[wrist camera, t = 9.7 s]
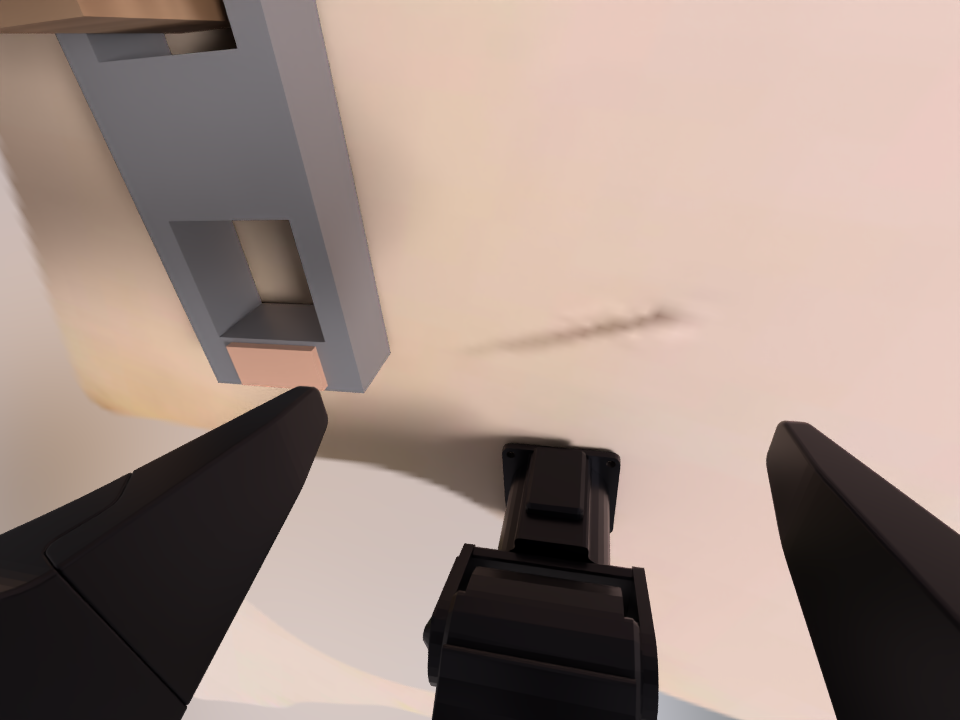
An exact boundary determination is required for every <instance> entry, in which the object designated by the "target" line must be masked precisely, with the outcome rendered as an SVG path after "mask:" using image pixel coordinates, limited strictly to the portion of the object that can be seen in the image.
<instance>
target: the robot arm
mask: <svg viewBox="0 0 960 720" xmlns="http://www.w3.org/2000/svg"><path fill="white" fill-rule="evenodd" d="M327 424H328V416H327V413H326V410H325V407H324V404H323V400H322V397H321V394H320V392H319V390H318V389H317V388H315V387H309V386H297V387H295V388H293V389H291V390H289V391H287V392H285V393H283V394H281V395H279V396H277V397H275V398H274V399H272V400H270V401H268V402H266V403H264V404H262V405H260V406H258V407H256V408H254V409H252V410H250V411H248V412H246V413H244V414H243V415H241V416H239V417H237V418H235V419H233V420H231V421H229V422H227V423H225V424H223V425H221V426H219V427H217V428H215V429H213V430H212V431H210V432H208V433H206V434H204V435H202V436H200V437H198V438H196V439H194V440H192V441H190V442H188V443H186V444H184V445H182V446H181V447H179V448H177V449H175V450H173V451H171V452H169V453H167V454H165V455H163V456H161V457H159V458H158V459H156V460H153V461H151V462H150V463H148V464H146V465H144V466H142V467H140V468H138V469H136V470H134V471H133V473H128V474H126V475H124V476H122V477H120V478H119V479H116V480H115V481H113V482H111V483H109V484H107V485H105V486H103V487H101V488H99V489H97V490H95V491H93V492H91V493H89V494H87V495H85V496H83V497H81V498H79V499H77V500H74V501H72V502H70V503H68V504H66V505H64V506H62V507H60V508H58V509H56V510H53V511H51V512H49V513H47V514H45V515H42V516H40V517H38V518H36V519H34V520H32V521H30V522H27V523H25V524H23V525H21V526H18V527H16V528H14V529H12V530H10V531H7V532H5V533H4V534H1V535H0V720H181V719H182V717H183V715H184V713H185V711H186V709H187V706H186V705H188V704H189V703H190V701H191V699H192V697H193V695H194V693H195V691H196V689H197V688H198V686H199V684H200V682H201V680H202V678H203V676H204V674H205V672H206V670H207V669H208V667H209V665H210V663H211V661H212V659H213V657H214V655H215V653H216V651H217V650H218V648H219V646H220V644H221V642H222V640H223V638H224V636H225V634H226V632H227V631H228V629H229V627H230V625H231V623H232V621H233V619H234V617H235V615H236V613H237V612H238V610H239V608H240V606H241V604H242V602H243V600H244V598H245V596H246V594H247V592H248V591H249V589H250V587H251V585H252V583H253V581H254V579H255V577H256V575H257V573H258V572H259V570H260V568H261V566H262V564H263V562H264V560H265V558H266V556H267V554H268V553H269V550H270V548H271V547H272V545H273V543H274V541H275V539H276V537H277V535H278V534H279V532H280V530H281V528H282V526H283V524H284V522H285V520H286V518H287V516H288V515H289V512H290V511H291V509H292V507H293V505H294V503H295V501H296V499H297V497H298V495H299V493H300V491H301V489H302V487H303V485H304V483H305V480H306V478H307V476H308V473H309V470H310V468H311V466H312V463H313V461H314V458H315V456H316V453H317V451H318V448H319V446H320V443H321V441H322V438H323V436H324V433H325V431H326V428H327ZM509 451H511V452H514V453H510V452H509ZM502 459H503V473H504V488H505V502H506V511H505V516H504V521H503V526H502V531H501V536H500V541H499V546H498V550H496V549H488V548H481V547H475V545H473V544H466V543H465V544H464V546H463V548H462V550H461V553H460V555H459V557H456V560H455V562H454V564H453V567H452V569H451V572H450V574H449V576H448V579H447V581H446V583H445V586H444V588H443V591H442V593H441V595H440V597H439V600H438V602H437V604H436V607H435V609H434V612H433V614H432V617H431V618H430V620H429V621H428V623H427V624H426V626H425V629H424V633H423V641H424V643H425V644H426V646H427V648H428V678H429V683H430V685H431V686H436V693H435V701H434V708H433V715H432V720H657V713H658V688H659V684H658V657H657V646H656V638H655V632H654V625H653V619H652V613H651V607H650V601H649V595H648V589H647V583H646V576H645V570H644V568H639V567H632V568H625V567H618V566H611V565H610V533H611V532H612V530H613V524H614V515H615V507H616V499H617V490H618V482H619V474H620V457H619V455H617V454H616V453H612V452H602V451H591V450H580V449H569V448H558V447H547V446H536V445H525V444H514V443H508V444H506V445H505V446H504V448H503V452H502ZM608 461H614V462H608ZM766 466H767V472H768V477H769V483H770V488H771V493H772V498H773V504H774V509H775V514H776V520H777V525H778V530H779V535H780V540H781V545H782V548H783V552H784V555H785V559H786V562H787V565H788V568H789V571H790V574H791V577H792V580H793V584H794V587H795V590H796V593H797V596H798V599H799V602H800V605H801V609H802V612H803V615H804V618H805V621H806V624H807V627H808V630H809V634H810V637H811V640H812V643H813V646H814V649H815V652H816V655H817V658H818V662H819V665H820V668H821V671H822V674H823V677H824V680H825V683H826V687H827V690H828V693H829V696H830V699H831V702H832V705H833V708H834V712H835V715H836V718H837V720H960V534H958V533H957V532H956V531H954V530H953V529H951V528H950V527H949V526H947V525H946V524H945V523H943V522H942V521H941V520H939V519H938V518H937V517H935V516H934V515H932V514H931V513H930V512H928V511H927V510H926V509H924V508H923V507H922V506H920V505H919V504H918V503H916V502H915V501H913V500H912V499H911V498H909V497H908V496H907V495H905V494H904V493H903V492H901V491H900V490H899V489H897V488H896V487H895V486H893V485H892V484H890V483H889V482H888V481H886V480H885V479H884V478H882V477H881V476H880V475H878V474H877V473H876V472H874V471H873V470H871V469H870V468H869V467H867V466H866V465H865V464H863V463H862V462H861V461H859V460H858V459H857V458H855V457H854V456H853V455H851V454H850V453H848V452H847V451H846V450H844V449H843V448H842V447H840V446H839V445H838V444H836V443H835V442H834V441H832V440H831V439H829V438H828V437H827V436H825V435H824V434H823V433H821V432H820V431H819V430H817V429H816V428H815V427H813V426H812V425H810V424H809V423H806V422H797V421H782V422H780V423H779V424H778V426H777V428H776V430H775V433H774V436H773V439H772V442H771V445H770V447H769V450H768V453H767V458H766Z"/></svg>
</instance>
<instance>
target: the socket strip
mask: <svg viewBox="0 0 960 720" xmlns="http://www.w3.org/2000/svg"><path fill="white" fill-rule="evenodd" d="M223 2H224V5H225V8H226V12H227V15H228V18H229V22H230V25H231V28H232V32H233V35H234V38H235V42H236V45H237V48H238V49H228V50H218V51H208V52H198V53H188V54H178V55H171V52H170V49H169V47H168V44H167V41H166V38H165V36H164V33H55V35H56V37H57V39H58V41H59V43H60V45H61V47H62V49H63V52H64V54H65V56H66V58H67V60H68V62H69V64H70V67H71V69H72V71H73V73H74V75H75V77H76V79H77V82H78V84H79V86H80V88H81V90H82V92H83V94H84V96H85V99H86V101H87V103H88V105H89V107H90V109H91V111H92V114H93V116H94V118H95V120H96V122H97V124H98V126H99V128H100V131H101V133H102V135H103V137H104V139H105V141H106V143H107V146H108V148H109V150H110V152H111V154H112V156H113V158H114V161H115V163H116V165H117V167H118V169H119V171H120V173H121V175H122V178H123V180H124V182H125V184H126V186H127V188H128V190H129V193H130V195H131V197H132V199H133V201H134V203H135V205H136V207H137V210H138V212H139V214H140V216H141V218H142V220H143V222H144V225H145V227H146V229H147V231H148V233H149V235H150V237H151V240H152V242H153V244H154V246H155V248H156V250H157V252H158V254H159V257H160V259H161V261H162V263H163V265H164V267H165V269H166V272H167V274H168V276H169V278H170V280H171V282H172V284H173V286H174V289H175V291H176V293H177V295H178V297H179V299H180V301H181V304H182V306H183V308H184V310H185V312H186V314H187V316H188V319H189V321H190V323H191V325H192V327H193V329H194V331H195V333H196V336H197V338H198V340H199V342H200V344H201V346H202V348H203V351H204V353H205V355H206V357H207V359H208V361H209V363H210V366H211V368H212V370H213V372H214V374H215V376H216V378H217V380H218V383H230V384H242V385H252V386H265V387H279V388H295V387H297V386H309V387H315V388H317V389H318V390H320V391H324V390H327V391H341V392H354V393H365V391H366V390H367V388H368V387H369V385H370V384H371V382H372V381H373V379H374V377H375V376H376V374H377V373H378V371H379V370H380V368H381V367H382V365H383V364H384V362H385V361H386V359H387V358H388V356H389V355H390V353H391V352H390V348H389V343H388V338H387V334H386V329H385V324H384V319H383V315H382V310H381V305H380V301H379V296H378V291H377V287H376V282H375V277H374V273H373V268H372V263H371V259H370V254H369V249H368V245H367V240H366V235H365V230H364V226H363V221H362V216H361V212H360V207H359V202H358V198H357V193H356V188H355V184H354V179H353V174H352V170H351V165H350V160H349V155H348V151H347V146H346V141H345V137H344V132H343V127H342V123H341V118H340V113H339V109H338V104H337V99H336V95H335V90H334V85H333V80H332V76H331V71H330V66H329V62H328V57H327V52H326V48H325V43H324V38H323V34H322V29H321V24H320V20H319V15H318V10H317V6H316V1H315V0H223ZM232 220H289V223H290V226H291V229H292V233H293V236H294V239H295V243H296V246H297V249H298V253H299V256H300V259H301V263H302V266H303V269H304V273H305V276H306V280H307V283H308V286H309V290H310V293H311V296H312V300H313V303H314V305H305V304H272V303H262V302H261V299H260V296H259V293H258V291H257V288H256V285H255V282H254V280H253V277H252V274H251V271H250V269H249V266H248V263H247V260H246V258H245V255H244V252H243V250H242V247H241V244H240V241H239V239H238V236H237V233H236V230H235V228H234V225H233V222H232Z"/></svg>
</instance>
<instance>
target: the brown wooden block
mask: <svg viewBox="0 0 960 720" xmlns="http://www.w3.org/2000/svg"><path fill="white" fill-rule="evenodd" d="M230 27H231V25H230V22H229V18H228V15H227V12H226V8H225V5H224V2H223V0H0V33H189V32H197V31H205V30H214V29H222V28H230Z"/></svg>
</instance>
